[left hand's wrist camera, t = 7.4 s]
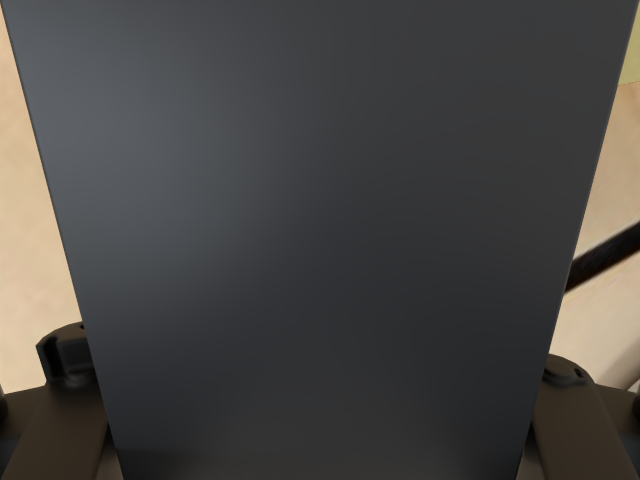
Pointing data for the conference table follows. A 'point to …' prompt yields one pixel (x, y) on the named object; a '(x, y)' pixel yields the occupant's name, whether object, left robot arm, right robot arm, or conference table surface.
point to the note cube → (632, 55)
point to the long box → (319, 220)
